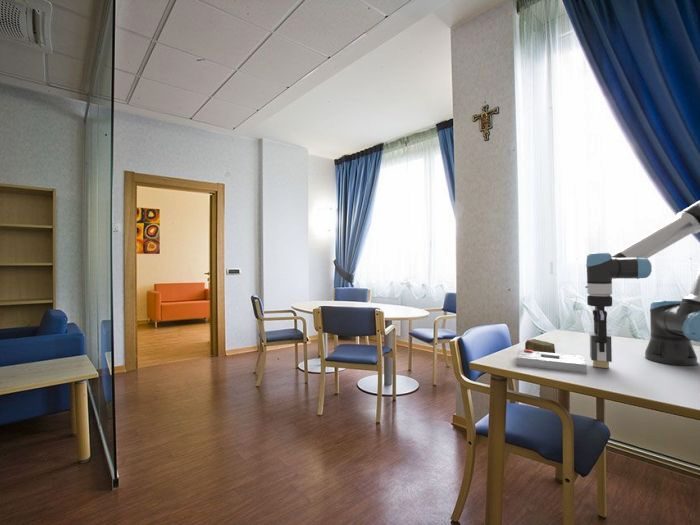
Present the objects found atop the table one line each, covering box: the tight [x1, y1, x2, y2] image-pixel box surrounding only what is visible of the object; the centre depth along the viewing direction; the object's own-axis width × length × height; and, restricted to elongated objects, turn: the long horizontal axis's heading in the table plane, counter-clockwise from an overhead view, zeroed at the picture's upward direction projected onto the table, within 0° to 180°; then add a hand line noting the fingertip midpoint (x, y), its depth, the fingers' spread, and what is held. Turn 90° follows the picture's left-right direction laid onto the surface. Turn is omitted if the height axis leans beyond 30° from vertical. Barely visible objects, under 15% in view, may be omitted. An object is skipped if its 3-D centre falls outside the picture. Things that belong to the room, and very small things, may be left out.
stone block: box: [524, 338, 556, 353], centre depth 154 cm, size 6×12×5 cm, turn 19°
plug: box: [589, 332, 613, 369], centre depth 133 cm, size 6×5×12 cm
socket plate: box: [516, 348, 588, 374], centre depth 136 cm, size 22×13×4 cm, turn 62°
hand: (600, 358), depth 133 cm, fingers closed on plug, 5 cm apart
